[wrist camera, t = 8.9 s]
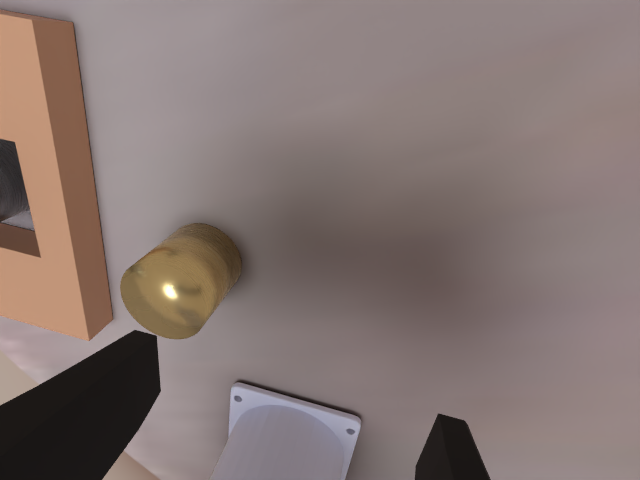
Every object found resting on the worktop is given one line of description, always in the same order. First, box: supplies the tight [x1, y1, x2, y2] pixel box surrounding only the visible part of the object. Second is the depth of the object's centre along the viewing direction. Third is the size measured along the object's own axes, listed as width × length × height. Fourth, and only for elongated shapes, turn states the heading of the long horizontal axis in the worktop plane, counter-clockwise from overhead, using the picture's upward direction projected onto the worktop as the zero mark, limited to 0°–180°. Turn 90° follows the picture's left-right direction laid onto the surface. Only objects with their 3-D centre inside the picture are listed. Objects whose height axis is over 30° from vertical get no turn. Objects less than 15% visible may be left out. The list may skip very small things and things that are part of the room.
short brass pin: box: [120, 223, 242, 339], centre depth 19 cm, size 4×4×4 cm
